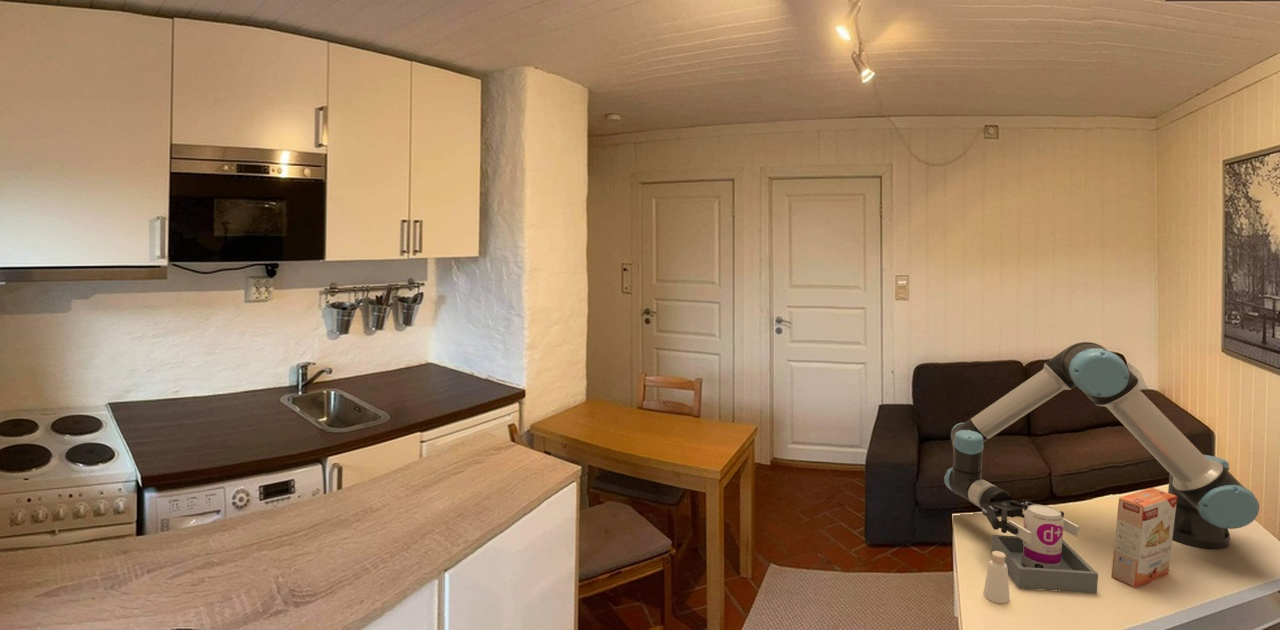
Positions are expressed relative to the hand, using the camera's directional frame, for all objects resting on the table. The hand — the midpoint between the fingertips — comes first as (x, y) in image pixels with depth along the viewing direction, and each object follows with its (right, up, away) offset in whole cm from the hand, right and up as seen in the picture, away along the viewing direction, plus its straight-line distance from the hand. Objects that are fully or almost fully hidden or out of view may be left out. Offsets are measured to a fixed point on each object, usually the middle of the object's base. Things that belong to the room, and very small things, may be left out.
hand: (1054, 534), depth 151 cm
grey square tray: (0, -11, +5) cm, 12 cm away
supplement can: (0, -10, +5) cm, 11 cm away
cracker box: (+23, -11, +2) cm, 25 cm away
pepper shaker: (-17, -13, -5) cm, 22 cm away
